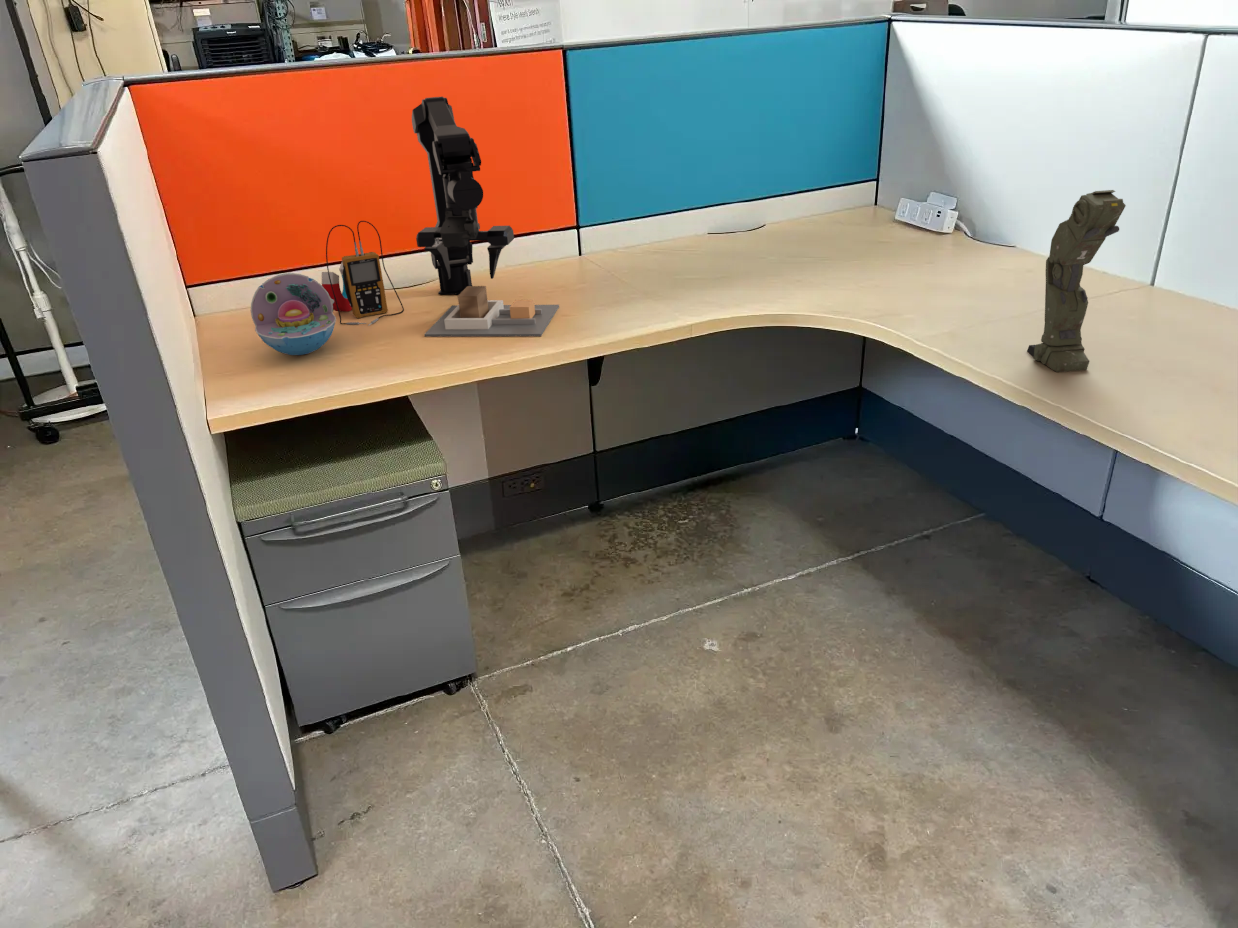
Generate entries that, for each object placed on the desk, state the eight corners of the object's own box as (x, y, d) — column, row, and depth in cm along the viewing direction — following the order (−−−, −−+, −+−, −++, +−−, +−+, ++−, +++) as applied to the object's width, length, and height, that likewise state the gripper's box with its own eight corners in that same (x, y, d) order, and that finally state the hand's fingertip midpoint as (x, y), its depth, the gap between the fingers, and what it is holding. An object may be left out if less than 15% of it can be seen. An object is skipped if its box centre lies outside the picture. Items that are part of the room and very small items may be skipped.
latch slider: (511, 321, 183) (509, 307, 182) (516, 313, 188) (515, 299, 186) (530, 321, 183) (528, 307, 181) (535, 313, 187) (533, 299, 186)
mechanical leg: (1011, 339, 160) (1061, 178, 140) (1050, 336, 160) (1105, 175, 140) (1046, 384, 149) (1105, 217, 130) (1087, 381, 150) (1153, 214, 130)
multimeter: (345, 331, 185) (326, 235, 176) (335, 319, 193) (317, 226, 184) (414, 318, 191) (399, 224, 181) (402, 307, 199) (387, 216, 189)
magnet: (352, 302, 204) (344, 259, 199) (364, 302, 203) (355, 259, 199) (328, 318, 194) (318, 273, 189) (339, 319, 193) (330, 273, 188)
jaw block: (461, 324, 184) (457, 296, 181) (470, 313, 190) (467, 286, 187) (480, 324, 183) (476, 296, 181) (489, 313, 189) (485, 286, 187)
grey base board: (424, 336, 180) (422, 324, 178) (452, 307, 196) (450, 296, 195) (541, 336, 176) (539, 324, 175) (559, 306, 193) (558, 295, 192)
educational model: (265, 374, 165) (245, 295, 158) (258, 344, 180) (240, 271, 173) (351, 359, 170) (335, 282, 163) (337, 331, 186) (323, 259, 179)
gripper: (401, 210, 170) (413, 290, 177) (496, 208, 167) (505, 289, 174) (420, 198, 179) (431, 275, 187) (510, 196, 177) (518, 273, 184)
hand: (470, 278), depth 182 cm, fingers open, 9 cm apart
